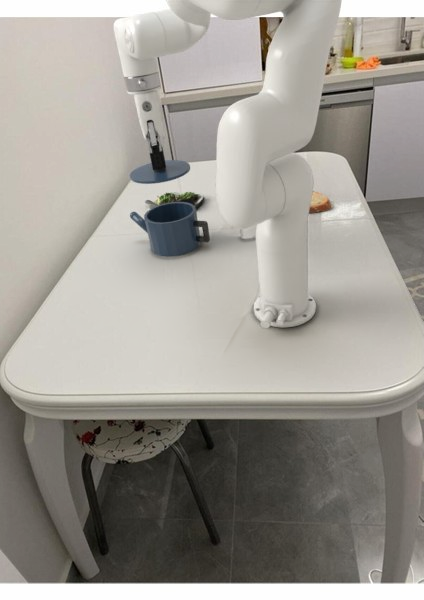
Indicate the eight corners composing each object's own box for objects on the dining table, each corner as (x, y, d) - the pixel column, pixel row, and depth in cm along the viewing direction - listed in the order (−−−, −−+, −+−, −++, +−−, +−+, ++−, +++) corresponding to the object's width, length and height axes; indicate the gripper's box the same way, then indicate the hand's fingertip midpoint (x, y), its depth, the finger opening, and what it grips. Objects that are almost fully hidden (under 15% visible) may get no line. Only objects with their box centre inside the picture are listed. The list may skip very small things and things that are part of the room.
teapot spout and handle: (208, 244, 114) (204, 217, 110) (133, 238, 123) (127, 213, 119) (211, 240, 116) (208, 213, 111) (137, 234, 124) (131, 210, 120)
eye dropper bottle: (260, 240, 116) (257, 198, 109) (239, 241, 118) (235, 198, 111) (262, 233, 120) (259, 191, 113) (242, 233, 121) (238, 192, 114)
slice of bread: (333, 210, 125) (334, 198, 123) (270, 217, 127) (270, 205, 125) (321, 188, 140) (321, 177, 138) (265, 195, 142) (264, 183, 140)
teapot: (188, 260, 112) (182, 225, 107) (142, 256, 118) (134, 222, 112) (208, 236, 122) (203, 202, 117) (165, 233, 128) (159, 201, 122)
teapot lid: (174, 187, 99) (168, 155, 94) (119, 185, 104) (111, 155, 100) (200, 164, 109) (196, 135, 105) (149, 164, 115) (143, 136, 111)
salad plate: (132, 216, 141) (129, 202, 139) (161, 194, 154) (158, 182, 151) (184, 221, 133) (181, 206, 130) (210, 198, 146) (208, 184, 143)
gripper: (161, 86, 89) (177, 174, 99) (158, 76, 102) (172, 154, 113) (124, 92, 88) (144, 180, 99) (126, 81, 102) (143, 159, 112)
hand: (159, 166), depth 106 cm, fingers closed on teapot lid, 3 cm apart
